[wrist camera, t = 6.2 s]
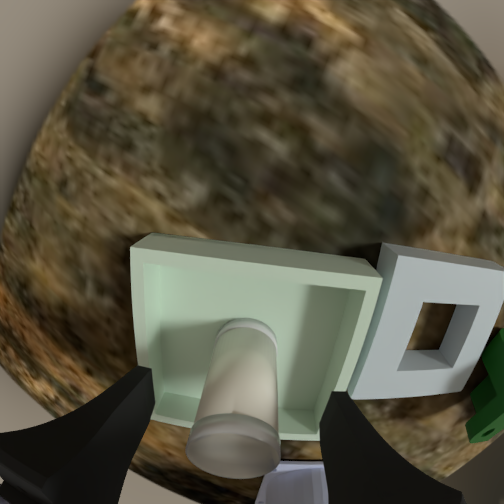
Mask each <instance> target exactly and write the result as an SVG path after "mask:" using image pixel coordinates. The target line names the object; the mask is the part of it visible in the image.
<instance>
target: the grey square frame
mask: <svg viewBox="0 0 504 504" xmlns="http://www.w3.org/2000/svg"><path fill="white" fill-rule="evenodd" d="M376 271H377V272H378V273H379V274H380V275H381V277H382V278H383V280H382V284H381V287H380V291H379V295H378V298H377V302H376V305H375V309H374V312H373V315H372V318H371V322H370V325H369V328H368V331H367V334H366V337H365V340H364V343H363V346H362V349H361V352H360V355H359V357H358V360H357V363H356V366H355V368H354V371H353V374H352V376H351V379H350V381H349V384H348V387H347V390H348V393H349V396H350V397H351V399H386V398H403V397H416V396H427V395H436V394H445V393H452V392H459V391H462V389H463V387H464V386H465V384H466V382H467V380H468V378H469V377H470V375H471V373H472V371H473V369H474V367H475V365H476V363H477V361H478V359H479V357H480V355H481V353H482V351H483V349H484V347H485V345H486V342H487V340H488V338H489V336H490V333H491V331H492V329H493V326H494V324H495V322H496V319H497V317H498V314H499V311H500V309H501V306H502V303H503V301H504V267H502V266H500V265H498V264H497V263H495V262H493V261H489V260H483V259H478V258H472V257H467V256H461V255H455V254H449V253H443V252H438V251H432V250H425V249H419V248H413V247H407V246H401V245H394V244H388V243H382V245H381V250H380V254H379V259H378V263H377V267H376ZM423 302H432V303H446V304H457V305H456V308H455V311H454V313H453V316H452V319H451V321H450V324H449V326H448V329H447V331H446V334H445V336H444V339H443V341H442V343H441V346H440V348H439V350H406V347H407V345H408V342H409V340H410V337H411V335H412V332H413V329H414V327H415V324H416V321H417V318H418V315H419V313H420V310H421V307H422V304H423Z"/></svg>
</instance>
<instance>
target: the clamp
mask: <svg viewBox="0 0 504 504" xmlns="http://www.w3.org/2000/svg"><path fill="white" fill-rule="evenodd" d="M482 360H483V363H484V365H485V367H486V370H487V372H488V374H489V375H488V376H487V377H486V378H485V379H484V380H483V381H482V382H481V383H480V384H479V385H478V386H477V387H476V388H475V389H474V390H473V391H472V392H471V394H470V396H471V399H472V402H473V405H474V408H475V411H476V415H474V416H473V417H472V418H471V419H470V420H469V421H468V422H467V423H466V425H465V426H466V430H467V434H468V438H469V442H470V443H477V442H482V441H487V440H489V439H490V438H492V437H493V436H494V435H495V434H497V433H498V432H500V431H501V430H502V429H504V328H502V329H501V330H500V331H499V332H498V334H497V335H496V336H495V337H494V338H493V340H492V341H491V342H490V343H489V345H488V346H487V347H486V348H485V349H484V350H483V352H482Z"/></svg>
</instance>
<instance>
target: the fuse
mask: <svg viewBox="0 0 504 504" xmlns="http://www.w3.org/2000/svg"><path fill="white" fill-rule="evenodd" d="M277 354H278V352H277V339H276V336H275V333H274V332H273V330H272V329H271V328H270V327H269V326H268V325H266V324H265V323H263V322H262V321H259V320H256V319H253V318H237V319H234V320H231V321H229V322H227V323H226V324H224V325H223V326H222V327H221V328H220V330H219V331H218V333H217V336H216V340H215V343H214V348H213V354H212V358H211V362H210V365H209V369H208V373H207V376H206V380H205V384H204V387H203V391H202V395H201V399H200V402H199V406H198V410H197V414H196V417H195V421H194V425H193V426H192V428H191V430H190V434H189V438H188V442H187V445H186V455H187V457H188V458H189V460H190V461H191V462H192V463H193V464H194V465H195V466H197V467H198V468H200V469H202V470H203V471H205V472H208V473H210V474H213V475H216V476H220V477H225V478H232V479H248V478H255V477H259V476H263V475H266V474H268V473H270V472H271V471H273V470H274V469H276V468H277V466H278V465H279V463H280V460H281V457H280V437H279V428H278V386H277Z"/></svg>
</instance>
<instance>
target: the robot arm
mask: <svg viewBox="0 0 504 504" xmlns="http://www.w3.org/2000/svg"><path fill="white" fill-rule="evenodd" d="M155 403H156V402H155V394H154V386H153V377H152V368H148V367H143V366H139V365H137V366H136V367H135V368H133V369H132V370H131V371H130V372H128V373H127V374H126V375H125V376H123V377H122V378H121V379H120V380H118V381H117V382H116V383H115V384H113V385H112V386H111V387H109V388H108V389H107V390H105V391H104V392H103V393H101V394H100V395H98V396H97V397H95V398H94V399H92V400H91V401H89V402H88V403H86V404H84V405H83V406H81V407H79V408H78V409H76V410H74V411H72V412H70V413H68V414H66V415H64V416H62V417H59V418H57V419H54V420H52V421H50V422H47V423H44V424H41V425H38V426H34V427H31V428H27V429H23V430H18V431H11V432H4V433H0V476H1V478H2V479H3V480H4V481H3V483H2V484H0V504H118V501H119V498H120V494H121V490H122V487H123V483H124V480H125V477H126V474H127V471H128V468H129V465H130V463H131V460H132V458H133V456H134V454H135V452H136V450H137V448H138V446H139V443H140V441H141V439H142V437H143V435H144V433H145V431H146V429H147V426H148V424H149V422H150V419H151V416H152V413H153V409H154V406H155ZM319 434H320V447H321V453H322V459H323V461H280V463H279V465H278V466H277V468H276V469H274V470H273V471H271V472H270V473H268V474H266V475H264V477H263V480H262V483H261V486H260V489H259V492H258V495H257V498H256V501H255V504H466V502H465V499H464V497H463V494H462V492H461V491H458V490H456V489H454V488H451V487H449V486H446V485H444V484H442V483H440V482H438V481H437V480H435V479H433V478H431V477H429V476H428V475H426V474H425V473H423V472H422V471H420V470H419V469H417V468H416V467H414V466H413V465H412V464H410V463H409V462H408V461H407V460H405V459H404V458H403V457H402V456H401V455H399V454H398V453H397V452H396V451H395V450H394V449H393V448H392V447H391V446H390V445H389V444H388V443H387V442H386V441H385V440H384V439H383V438H382V437H381V436H380V435H379V433H378V432H377V431H376V430H375V429H374V427H373V426H372V425H371V424H370V423H369V421H368V420H367V419H366V418H365V416H364V415H363V414H362V412H361V411H360V410H359V408H358V407H357V406H356V404H355V403H354V401H353V400H352V399H351V397H350V396H349V395H348V393H347V392H346V391H332V392H331V395H330V397H329V400H328V402H327V405H326V407H325V410H324V412H323V415H322V417H321V420H320V422H319Z"/></svg>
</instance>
